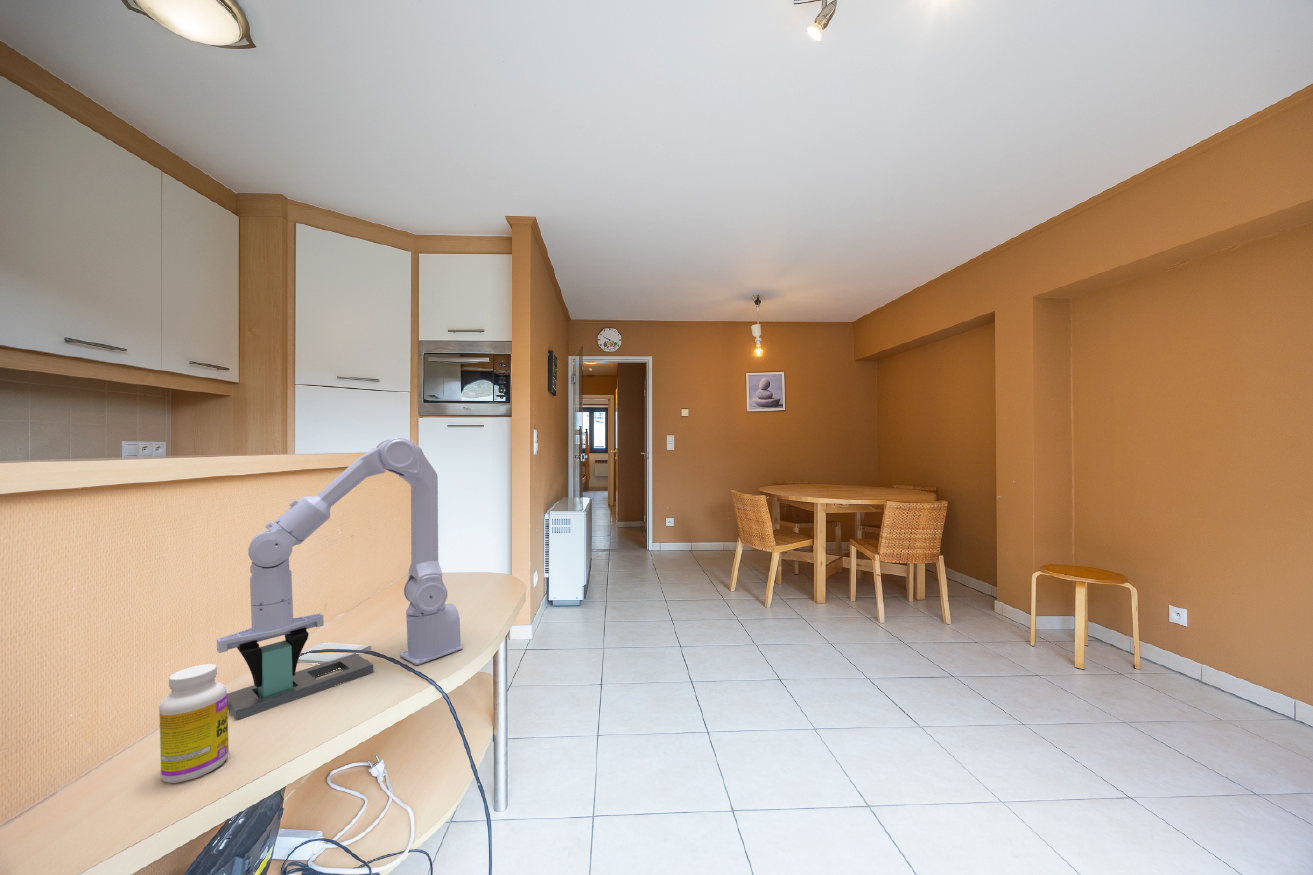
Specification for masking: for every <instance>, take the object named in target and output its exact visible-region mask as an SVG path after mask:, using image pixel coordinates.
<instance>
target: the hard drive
mask: <svg viewBox="0 0 1313 875" xmlns="http://www.w3.org/2000/svg"><path fill="white" fill-rule="evenodd" d="M323 648H339V649H352V650H370V651H372V645H368V644H367V645H366V644H352V643H339V642H338V643H337V642H329V641H328V642H327V641H325V642H321V643H318V644H316V645H314V646H312V647H311V646H310V647H309V648H307V649H304V650H302V651H301V653H306V652H309V651H311V650H315V649H323ZM301 653H300V654H301ZM352 654H355V653H307V654H304V655H302V656H300V657H299V659H298V662H297V664H300V663H318V664H323V663H326V662H329V661H333V660H336V659H339V658H342V657H345V656H348V655H352ZM358 655H359V654H358Z"/></svg>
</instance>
